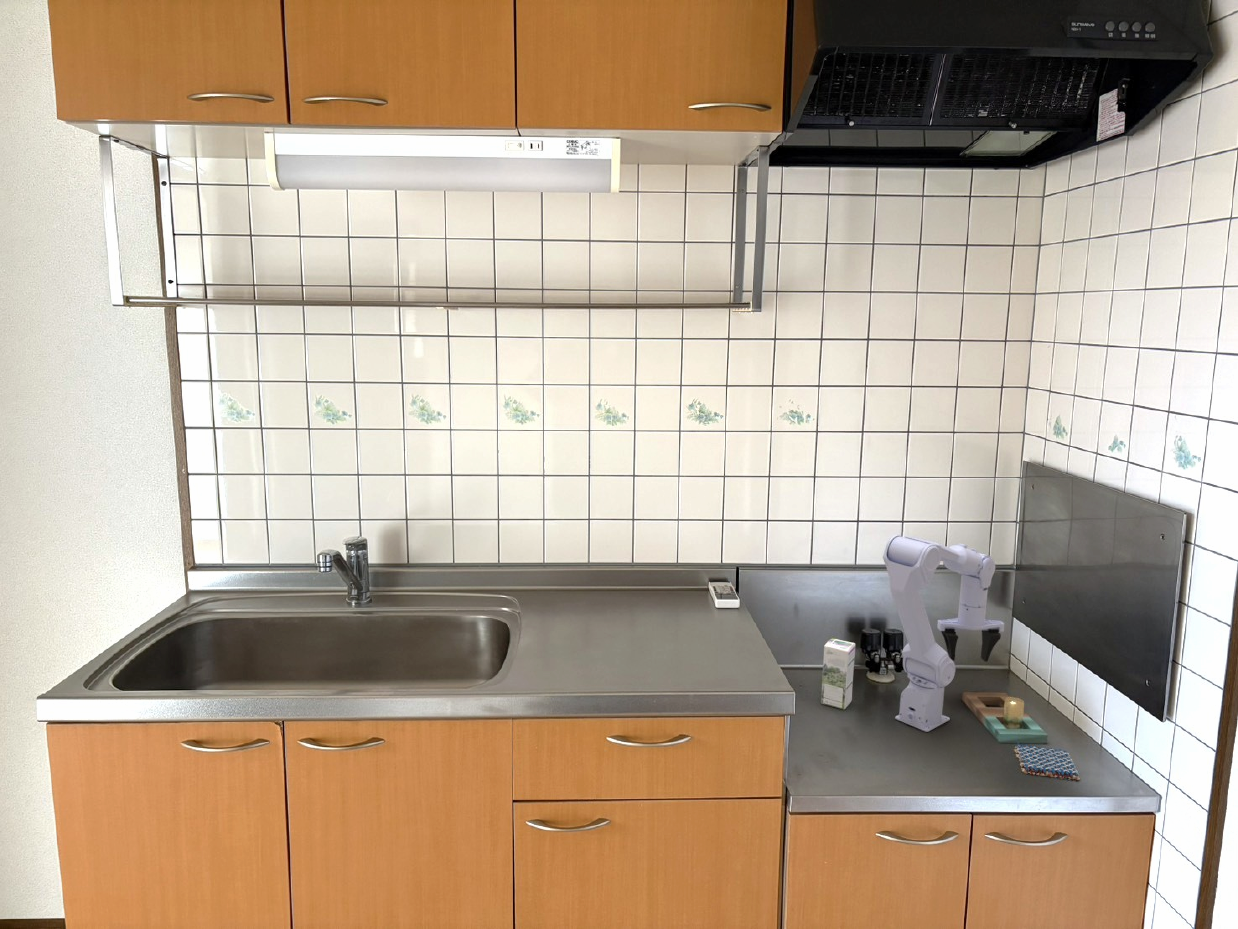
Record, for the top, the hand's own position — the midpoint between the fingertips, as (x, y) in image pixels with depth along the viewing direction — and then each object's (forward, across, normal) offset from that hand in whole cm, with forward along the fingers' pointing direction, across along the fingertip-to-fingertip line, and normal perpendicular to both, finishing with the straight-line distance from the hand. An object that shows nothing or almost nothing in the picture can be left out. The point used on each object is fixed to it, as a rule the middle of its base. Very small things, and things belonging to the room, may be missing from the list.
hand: (967, 659), depth 196 cm
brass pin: (+10, -5, +14) cm, 18 cm away
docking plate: (+10, -5, +9) cm, 15 cm away
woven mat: (+11, -6, +28) cm, 30 cm away
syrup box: (+10, +30, +2) cm, 32 cm away
